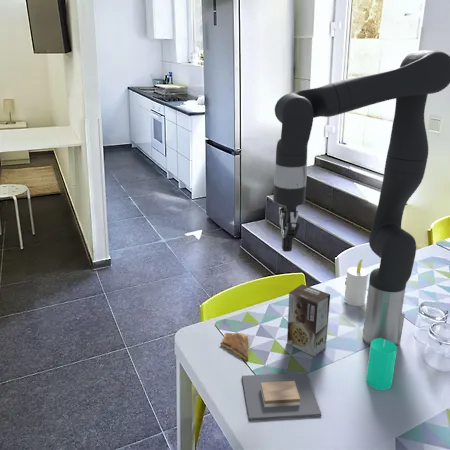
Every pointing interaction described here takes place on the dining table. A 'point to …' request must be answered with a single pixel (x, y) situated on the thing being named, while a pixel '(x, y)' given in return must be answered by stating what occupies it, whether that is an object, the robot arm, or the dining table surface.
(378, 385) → the candle
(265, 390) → the slab
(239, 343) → the shard
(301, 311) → the cookie box
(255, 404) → the mat
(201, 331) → the dining table surface
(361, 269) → the candle
